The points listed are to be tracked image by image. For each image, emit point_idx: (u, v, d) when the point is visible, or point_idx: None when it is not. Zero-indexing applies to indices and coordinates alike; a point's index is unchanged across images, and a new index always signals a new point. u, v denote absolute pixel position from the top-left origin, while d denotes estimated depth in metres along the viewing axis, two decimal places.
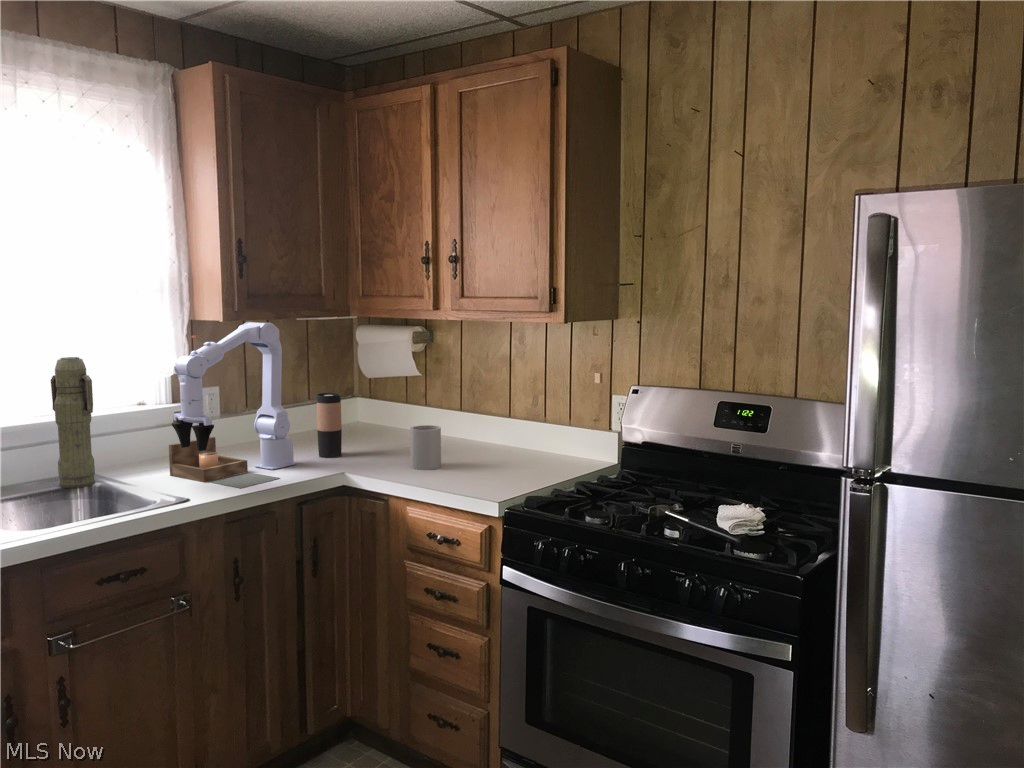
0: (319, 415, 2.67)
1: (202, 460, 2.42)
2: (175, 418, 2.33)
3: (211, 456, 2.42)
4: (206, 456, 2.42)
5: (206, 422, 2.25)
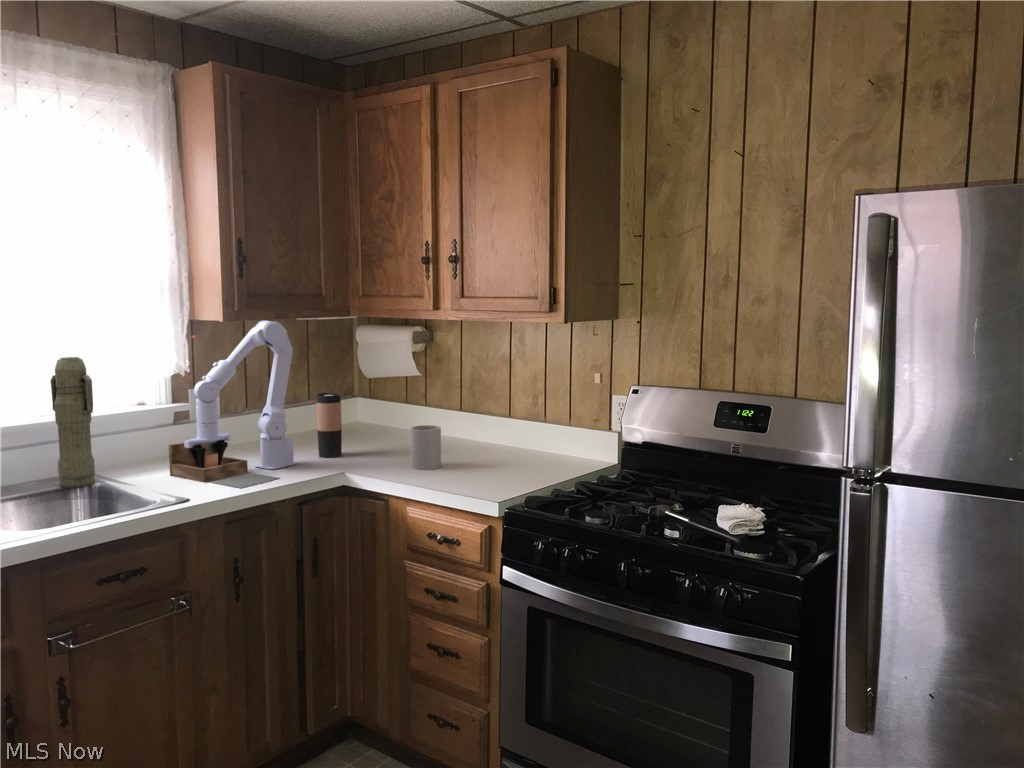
0: (319, 415, 2.67)
1: None
2: None
3: (211, 456, 2.42)
4: (206, 456, 2.42)
5: (184, 444, 2.38)
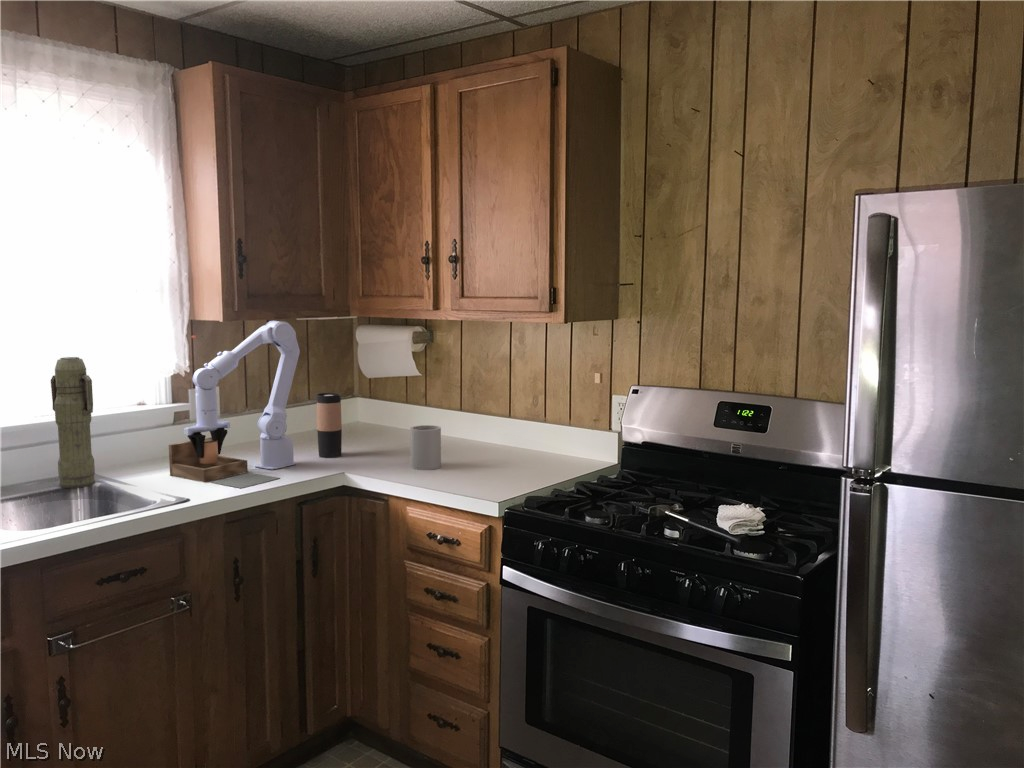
0: (319, 415, 2.67)
1: None
2: None
3: (211, 444, 2.42)
4: (206, 444, 2.41)
5: (184, 431, 2.38)
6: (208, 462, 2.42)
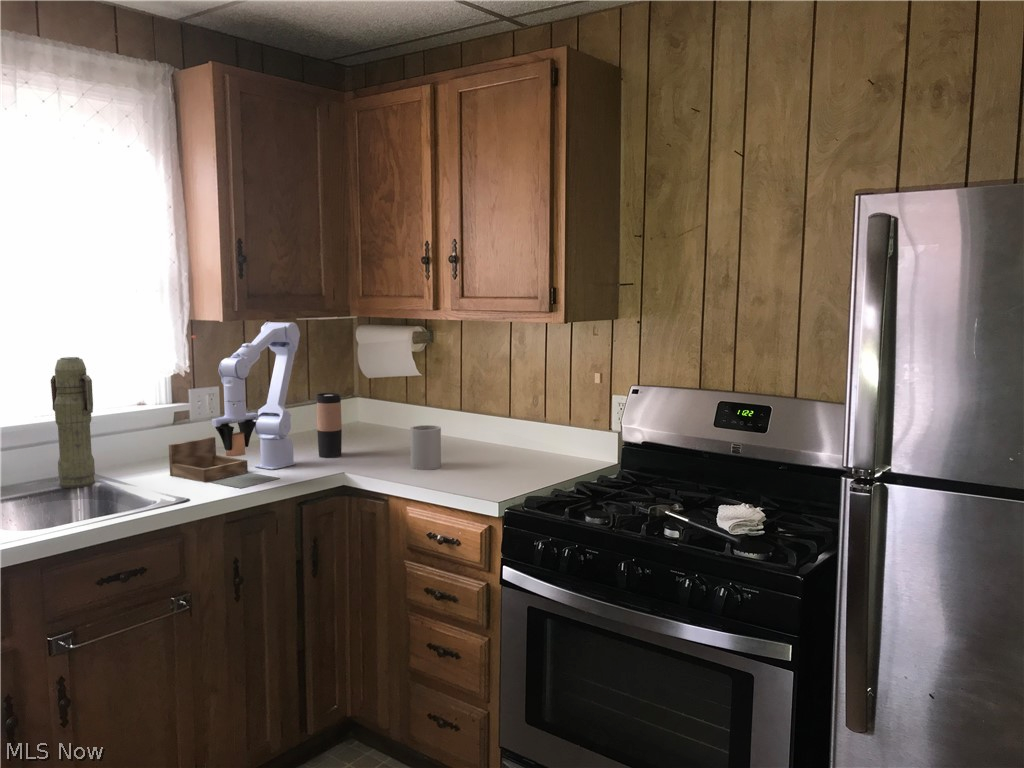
0: (319, 415, 2.67)
1: None
2: None
3: (237, 436, 2.35)
4: (232, 436, 2.35)
5: (212, 423, 2.31)
6: (235, 455, 2.35)
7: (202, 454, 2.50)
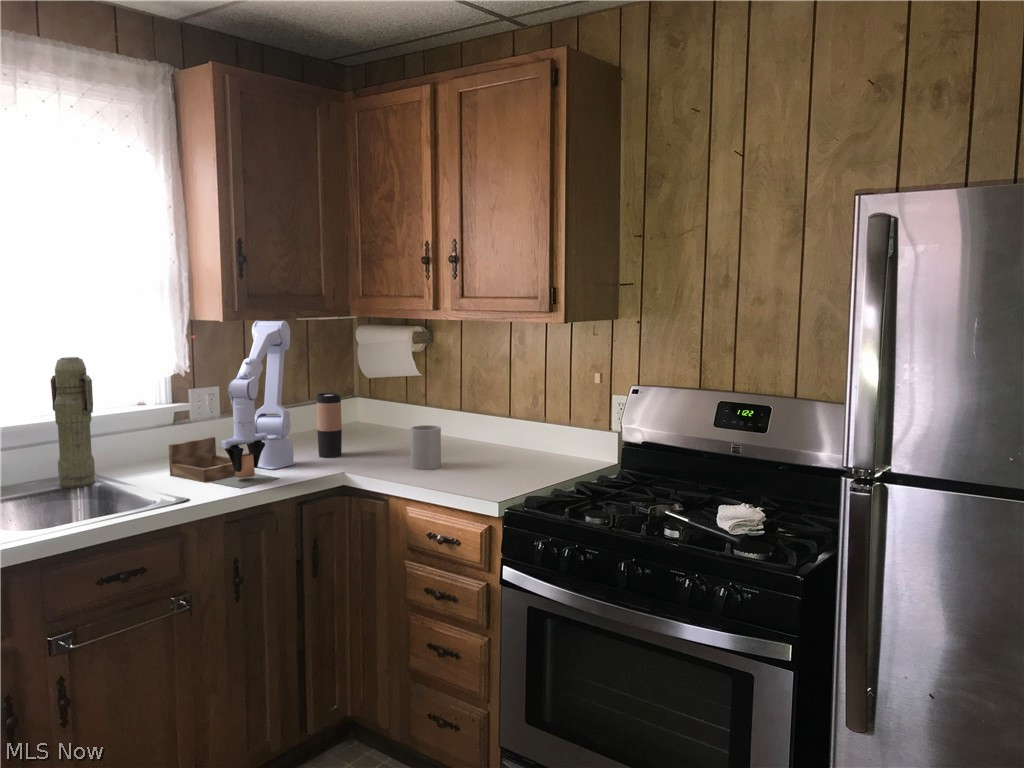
0: (319, 415, 2.67)
1: None
2: None
3: (247, 457, 2.34)
4: (242, 457, 2.34)
5: (221, 444, 2.30)
6: (245, 476, 2.34)
7: (202, 454, 2.50)
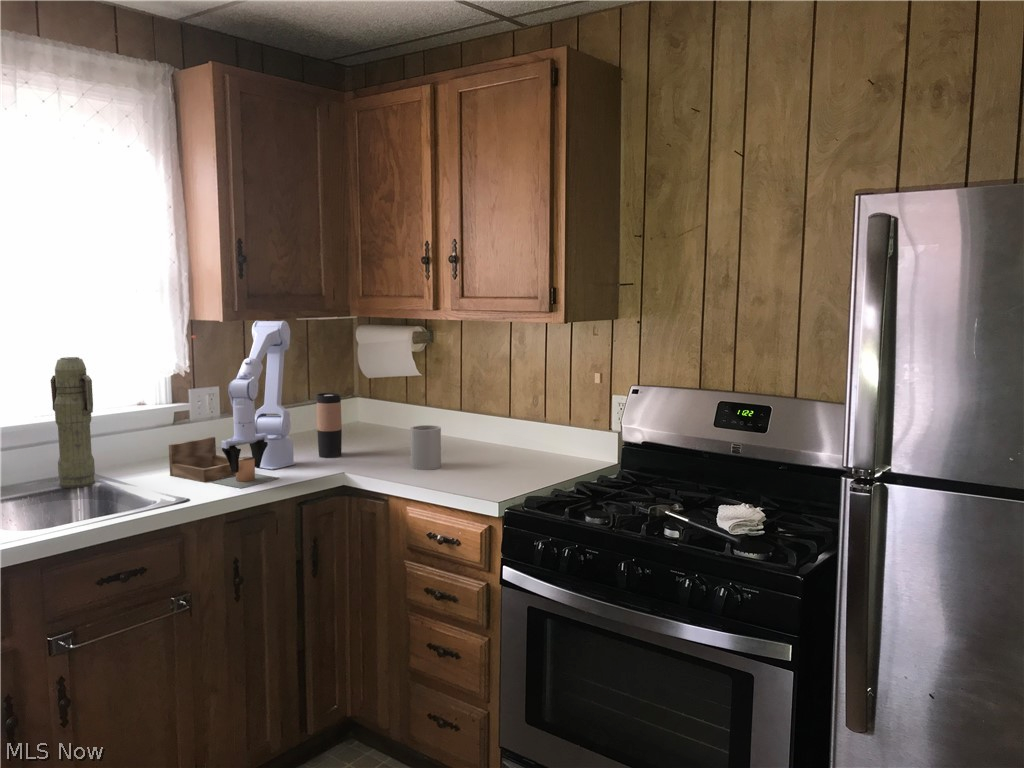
0: (319, 415, 2.67)
1: None
2: None
3: (248, 461, 2.34)
4: (243, 461, 2.34)
5: (221, 444, 2.30)
6: (245, 480, 2.34)
7: (202, 454, 2.50)
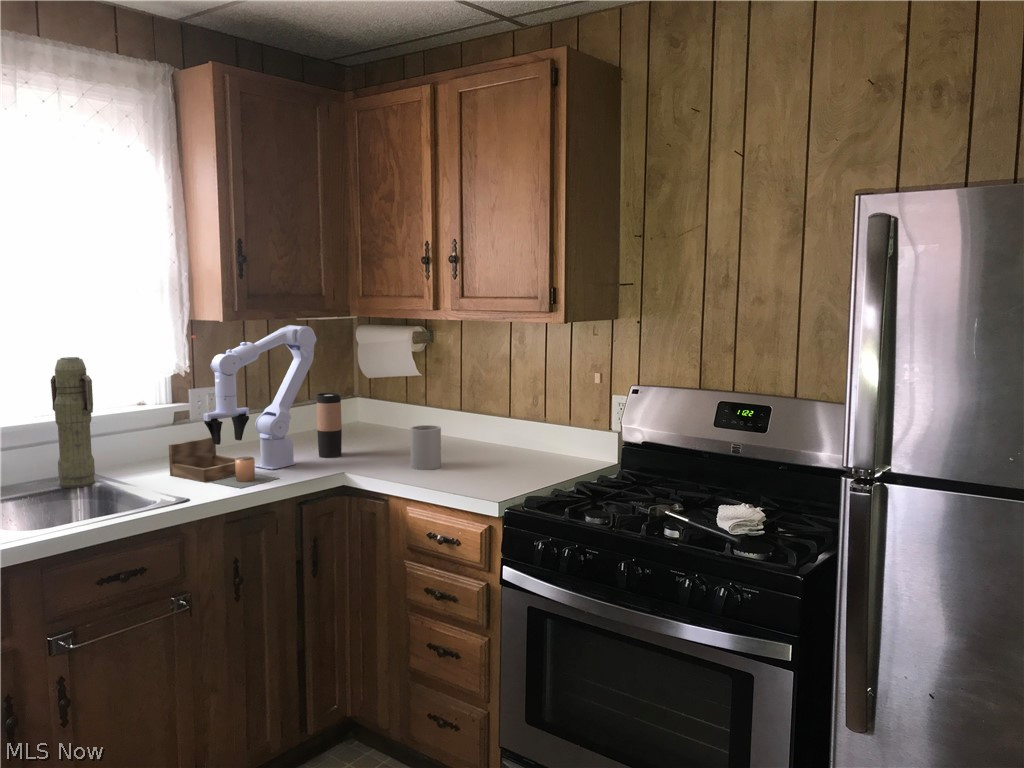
0: (319, 415, 2.67)
1: (238, 465, 2.34)
2: None
3: (247, 461, 2.34)
4: (242, 461, 2.34)
5: (204, 417, 2.37)
6: (245, 480, 2.34)
7: (202, 454, 2.50)
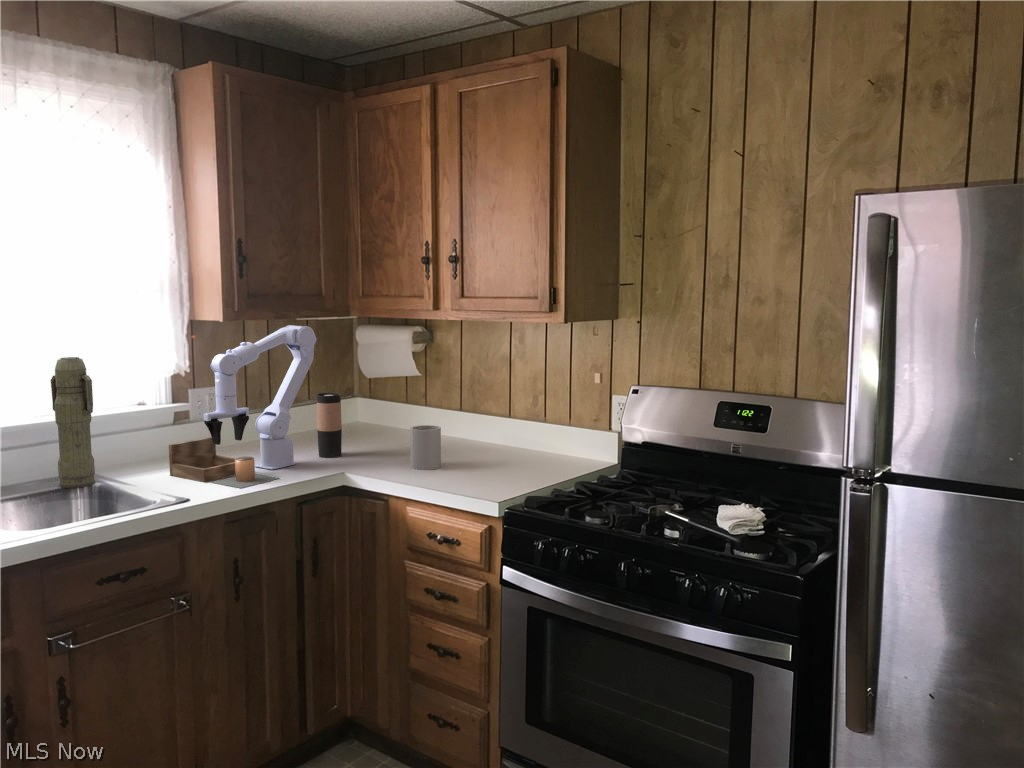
0: (319, 415, 2.67)
1: (238, 466, 2.34)
2: None
3: (247, 461, 2.34)
4: (242, 461, 2.34)
5: (204, 417, 2.37)
6: (244, 480, 2.34)
7: (202, 454, 2.50)
